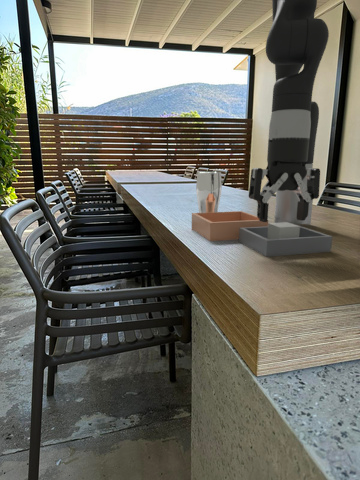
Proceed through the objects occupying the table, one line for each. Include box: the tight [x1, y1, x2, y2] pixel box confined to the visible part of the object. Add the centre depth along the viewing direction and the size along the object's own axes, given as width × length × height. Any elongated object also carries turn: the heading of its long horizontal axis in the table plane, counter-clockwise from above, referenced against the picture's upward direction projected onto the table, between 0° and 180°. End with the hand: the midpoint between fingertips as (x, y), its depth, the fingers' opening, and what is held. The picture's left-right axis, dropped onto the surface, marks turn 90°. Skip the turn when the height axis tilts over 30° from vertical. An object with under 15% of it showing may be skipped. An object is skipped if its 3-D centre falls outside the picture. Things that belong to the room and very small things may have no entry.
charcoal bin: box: [238, 225, 333, 257], centre depth 69 cm, size 14×12×4 cm
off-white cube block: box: [267, 222, 301, 239], centre depth 68 cm, size 4×4×4 cm
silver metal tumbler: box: [195, 171, 223, 213], centre depth 93 cm, size 7×7×15 cm
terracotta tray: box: [191, 210, 269, 242], centre depth 81 cm, size 14×14×5 cm
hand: (282, 220), depth 68 cm, fingers open, 8 cm apart
